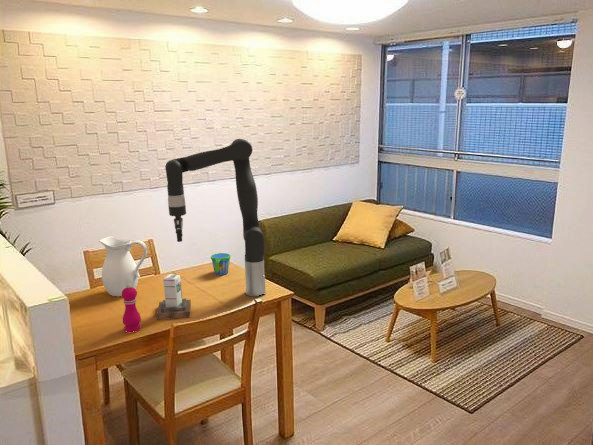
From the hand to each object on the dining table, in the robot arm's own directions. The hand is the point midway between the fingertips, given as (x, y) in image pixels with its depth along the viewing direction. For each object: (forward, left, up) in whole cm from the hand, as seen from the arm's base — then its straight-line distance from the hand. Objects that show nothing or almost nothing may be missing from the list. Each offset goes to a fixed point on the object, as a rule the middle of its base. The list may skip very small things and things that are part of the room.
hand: (180, 239), depth 225 cm
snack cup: (-19, -37, -31) cm, 52 cm away
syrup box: (+4, +12, -28) cm, 31 cm away
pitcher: (+28, -17, -31) cm, 45 cm away
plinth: (+4, +11, -31) cm, 33 cm away
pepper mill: (+20, +26, -31) cm, 45 cm away
